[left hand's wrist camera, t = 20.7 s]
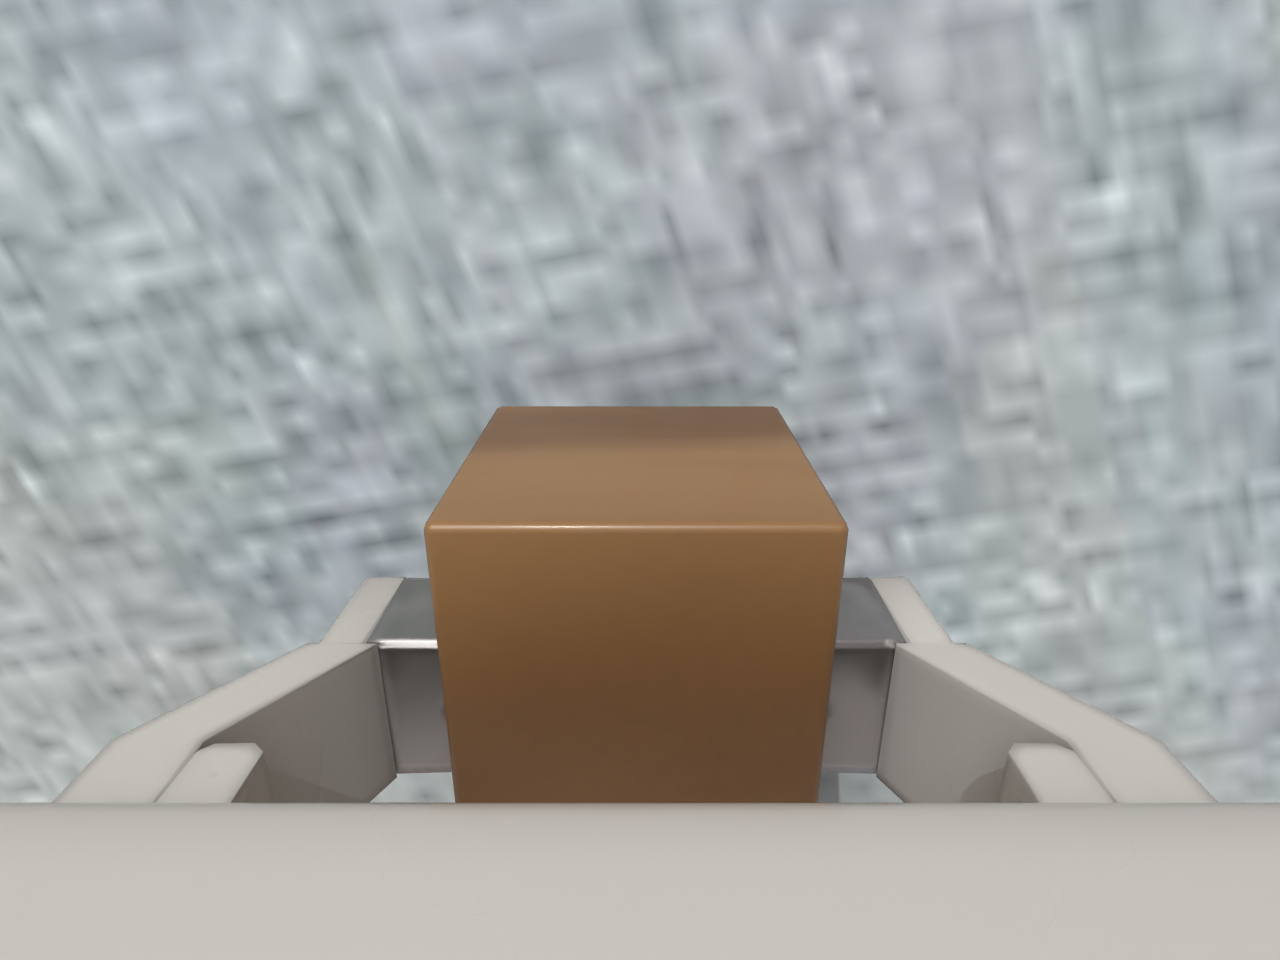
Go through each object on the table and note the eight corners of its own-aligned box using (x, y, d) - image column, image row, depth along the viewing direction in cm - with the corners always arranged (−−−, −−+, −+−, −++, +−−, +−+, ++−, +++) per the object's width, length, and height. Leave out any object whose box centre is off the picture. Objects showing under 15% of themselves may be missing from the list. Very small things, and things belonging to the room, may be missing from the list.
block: (496, 404, 11) (419, 524, 7) (777, 405, 11) (851, 525, 7) (517, 700, 13) (466, 919, 9) (757, 701, 13) (806, 921, 9)
